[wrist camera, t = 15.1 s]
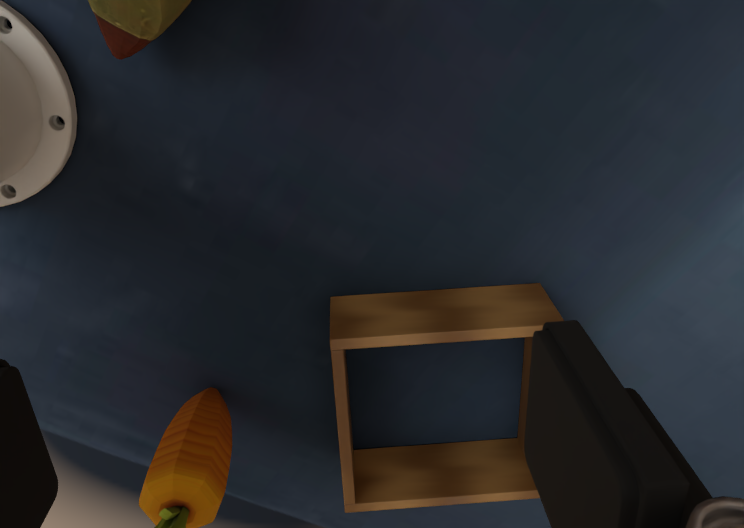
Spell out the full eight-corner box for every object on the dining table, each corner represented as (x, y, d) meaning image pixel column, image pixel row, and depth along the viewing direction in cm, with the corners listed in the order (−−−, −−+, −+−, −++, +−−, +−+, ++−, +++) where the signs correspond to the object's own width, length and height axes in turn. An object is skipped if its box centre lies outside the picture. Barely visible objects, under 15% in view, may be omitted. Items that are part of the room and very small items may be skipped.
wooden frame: (343, 457, 49) (345, 513, 44) (330, 296, 43) (329, 339, 38) (526, 444, 49) (547, 497, 44) (539, 282, 43) (566, 323, 38)
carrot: (218, 427, 47) (171, 613, 33) (164, 392, 45) (91, 573, 32) (260, 387, 46) (229, 564, 32) (206, 349, 44) (148, 519, 30)
